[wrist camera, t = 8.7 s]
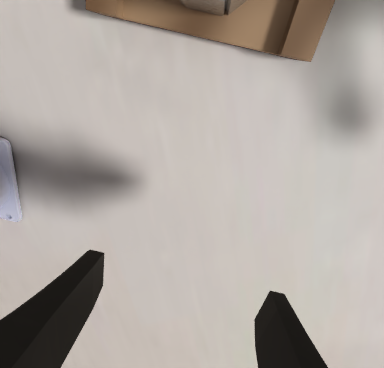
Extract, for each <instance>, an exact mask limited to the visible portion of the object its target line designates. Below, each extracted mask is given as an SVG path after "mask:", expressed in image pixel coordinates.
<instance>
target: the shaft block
mask: <svg viewBox="0 0 384 368" xmlns="http://www.w3.org/2000/svg"><path fill="white" fill-rule="evenodd" d="M334 2H335V0H247V1H246V2H245V3H244V4H242V5H241V6H240V7H238V8H237V9H236V10H234V11H233V12H232V13H231V14H229V15H228V14H227V12H226V10H225V12H224V16H220V15H215V14H211V13H207V12H202V11H198V10H194V9H189V8H187V7H186V6H185V5H184V4H182V3H181V2H180V1H179V0H86V10H90V11H93V12H96V13H99V14H103V15H107V16H111V17H115V18H119V19H124V20H128V21H132V22H137V23H141V24H145V25H149V26H154V27H158V28H162V29H167V30H171V31H175V32H180V33H184V34H188V35H192V36H197V37H201V38H205V39H210V40H214V41H218V42H223V43H227V44H231V45H235V46H240V47H244V48H248V49H253V50H257V51H261V52H266V53H270V54H274V55H278V56H283V57H287V58H291V59H296V60H301V61H309V62H311V60H312V58H313V55H314V53H315V50H316V47H317V45H318V42H319V40H320V37H321V35H322V32H323V30H324V27H325V24H326V22H327V19H328V17H329V14H330V12H331V9H332V7H333V4H334Z"/></svg>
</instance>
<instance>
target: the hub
mask: <svg viewBox="0 0 384 368" xmlns="http://www.w3.org/2000/svg"><path fill="white" fill-rule="evenodd" d="M179 1H180V2H181V3H182V4H184V5H185V6H186V7H187V8H189V9H194V10H198V11H202V12H207V13H211V14H215V15H220V16H224V12H225V10H226V12H227V14H228V15H229V14H231V13H232V12H233V11H234V10H236V9H237V8H238V7H240V6H241V5H242V4H244V3H245V2H246V1H247V0H179Z"/></svg>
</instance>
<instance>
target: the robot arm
mask: <svg viewBox="0 0 384 368" xmlns="http://www.w3.org/2000/svg"><path fill="white" fill-rule="evenodd" d="M0 218H1V219H5V220H10V221H14V222H19V221H20V220H21V219H22V212H21V205H20V199H19V193H18V187H17V181H16V175H15V168H14V162H13V156H12V150H11V145H10V143H9V141H8V140H6V139H4V138H1V137H0ZM103 271H104V253H102V252H98V251H94V250H89V251H87V252H86V253H85V254H84V255H83V256H82V257H81V258H79V259H78V260H77V261H76V262H75V263H74V264H73V265H71V266H70V267H69V268H68V269H67V270H66V271H64V272H63V273H62V274H61V275H60V276H58V277H57V278H56V279H55V280H54V281H52V282H51V283H50V284H49V285H47V286H46V287H45V288H44V289H42V290H41V291H40V292H38V293H37V294H36V295H34V296H33V297H32V298H30V299H29V300H28V301H26V302H25V303H24V304H22V305H21V306H20V307H18V308H17V309H16V310H14V311H13V312H11V313H10V314H8V315H7V316H6V317H4V318H3V319H1V320H0V368H61V366H62V364H63V362H64V360H65V359H66V357H67V355H68V353H69V351H70V350H71V348H72V346H73V344H74V342H75V341H76V339H77V337H78V335H79V333H80V332H81V330H82V328H83V326H84V324H85V322H86V321H87V319H88V317H89V315H90V313H91V311H92V310H93V307H94V305H95V303H96V300H97V298H98V296H99V293H100V291H101V289H102V286H103ZM255 347H256V355H257V363H258V368H328V367H327V365H326V364H325V362H324V360H323V359H322V357H321V356H320V354H319V352H318V351H317V349H316V348H315V346H314V344H313V343H312V341H311V339H310V338H309V336H308V334H307V333H306V331H305V329H304V328H303V326H302V324H301V322H300V321H299V319H298V317H297V315H296V314H295V312H294V310H293V308H292V307H291V305H290V303H289V301H288V300H287V298H286V296H285V295H284V294H282V293H278V292H273V291H270V292H269V294H268V296H267V297H266V299H265V301H264V303H263V305H262V307H261V309H260V310H259V312H258V314H257V316H256V318H255Z"/></svg>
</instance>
